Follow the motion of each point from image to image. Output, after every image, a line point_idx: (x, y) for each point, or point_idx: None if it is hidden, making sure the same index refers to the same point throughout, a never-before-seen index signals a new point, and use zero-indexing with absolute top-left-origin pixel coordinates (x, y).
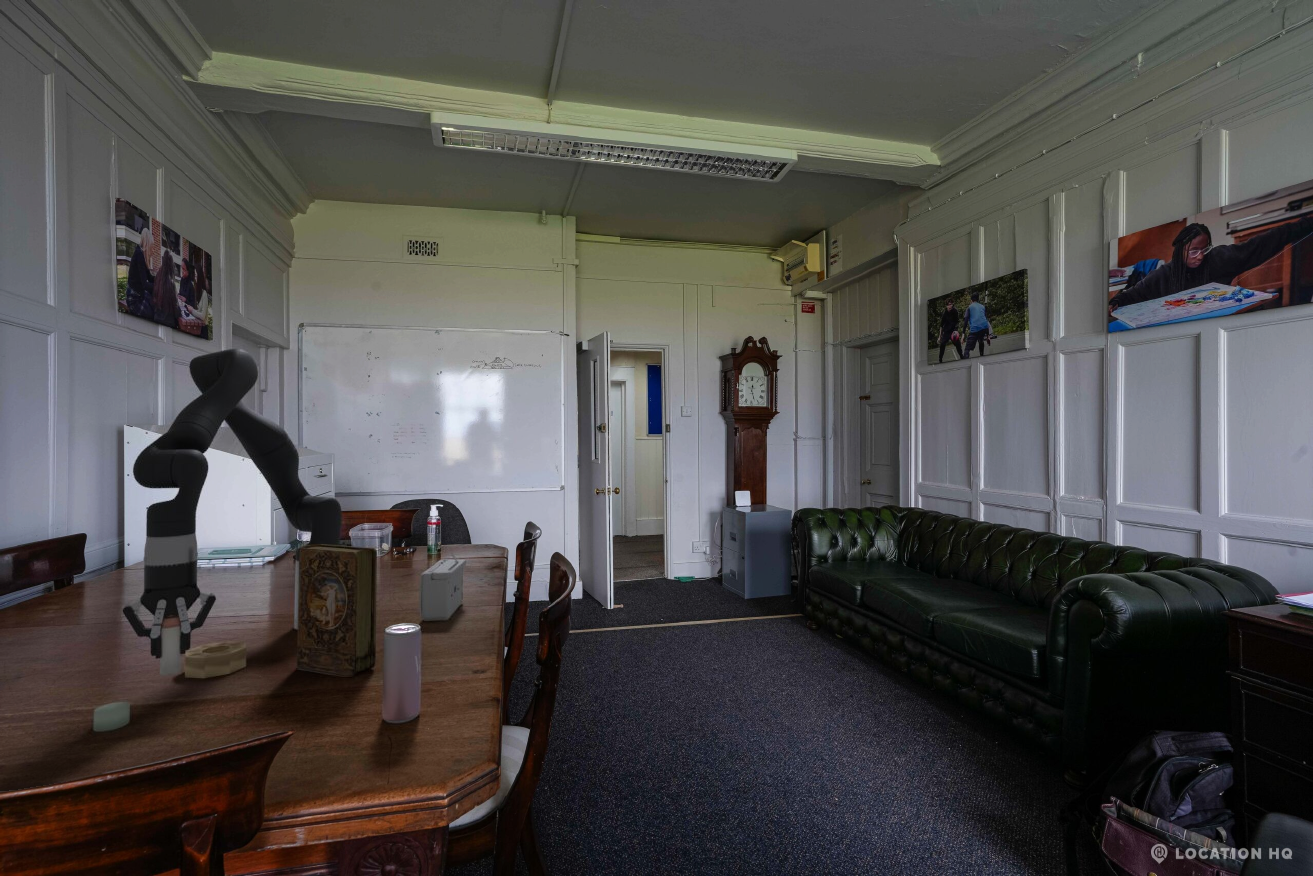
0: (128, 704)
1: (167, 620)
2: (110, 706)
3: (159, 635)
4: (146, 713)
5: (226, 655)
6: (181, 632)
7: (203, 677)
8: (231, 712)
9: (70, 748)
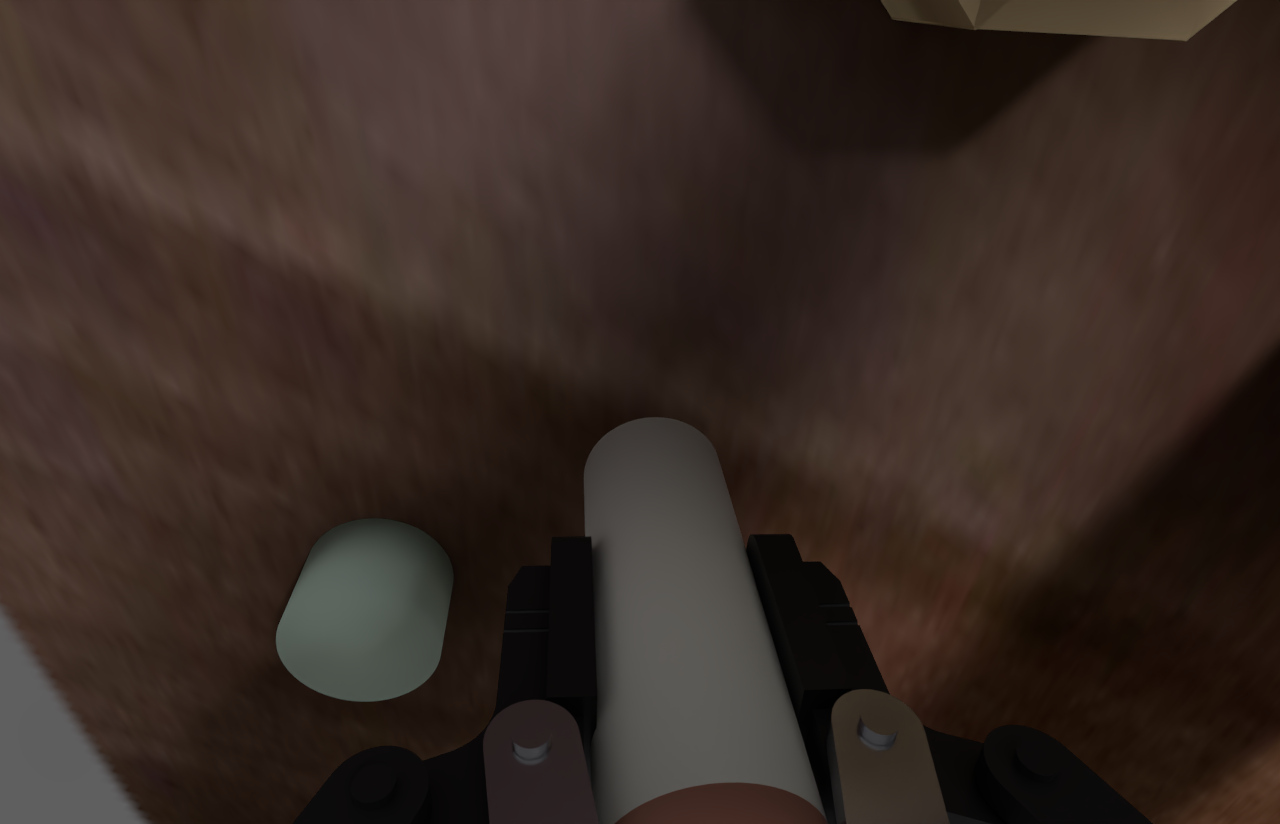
0: (435, 650)
1: None
2: (347, 631)
3: (584, 714)
4: (521, 511)
5: (1147, 35)
6: (803, 725)
7: (889, 10)
8: None
9: (272, 721)
